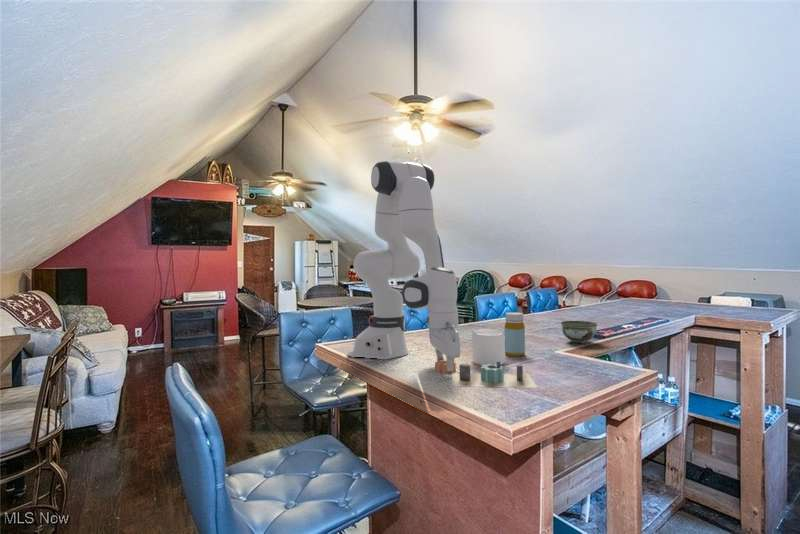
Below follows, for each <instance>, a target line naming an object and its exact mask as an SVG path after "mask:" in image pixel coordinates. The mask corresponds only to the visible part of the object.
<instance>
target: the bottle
mask: <svg viewBox="0 0 800 534" xmlns="http://www.w3.org/2000/svg"><path fill="white" fill-rule="evenodd" d="M504 354H505V355H506V356H508V357H514V358H515V357H516V358H517V357H518V358H520V357H523V356H524V355H525V354H526V327H525V324H524V313H523V312H517V311H511V312H505V324H504Z"/></svg>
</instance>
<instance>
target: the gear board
mask: <svg viewBox="0 0 800 534" xmlns="http://www.w3.org/2000/svg"><path fill="white" fill-rule="evenodd" d="M458 368H459V372H452V373H451V375H452V376H451V379H452V387H461V388H462V387H463V388H464V387H467V388H473V387H474V388H515V389H516V388H517V389H518V388H523V389H529V388H530V389H539V387H538V385H536V383H535V381H534V380H533V378H532V377H531V376H530V374H529V373H523V371H524V369H523V365H521V364H517V365H516V373H504V380H503V382H498V383H490V382H489V383H486V382H485V381H481V372H480V373H479V372H478V373H477V372H476V373H473V372H471V365H470V364H468V363H461V364H459V367H458ZM489 368H495V365H489Z"/></svg>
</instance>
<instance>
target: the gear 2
mask: <svg viewBox="0 0 800 534" xmlns="http://www.w3.org/2000/svg"><path fill="white" fill-rule="evenodd" d="M489 365H491V364H487V365H481V366H480V373H481V381H485V382H486V383H489V382H490V383H498V382H503V380H504V374H505V373H504V366H502V365H500V362H499V361H497V365H495V368H489Z"/></svg>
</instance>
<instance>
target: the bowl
mask: <svg viewBox="0 0 800 534" xmlns="http://www.w3.org/2000/svg"><path fill="white" fill-rule="evenodd" d="M560 324H561V330H562V334H563V335H564V336H565V338H567V339H568V340H569V341H570V343H571V342H572V344H575V343H587V344H588V342H589V341H590V340H592V339H593V338H594V337H595V335H596V333H597V327H598V323H596V322H593V321H587V320H586V321H585V320H563V321H561V322H560Z"/></svg>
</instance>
